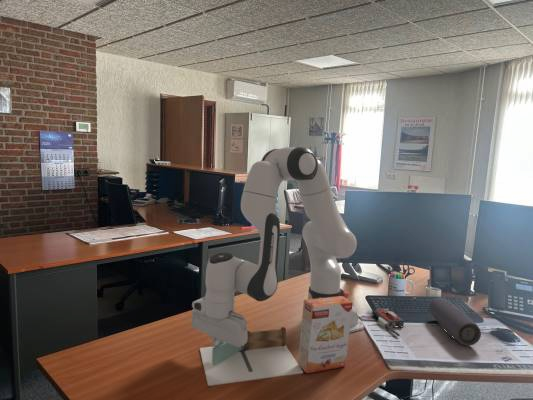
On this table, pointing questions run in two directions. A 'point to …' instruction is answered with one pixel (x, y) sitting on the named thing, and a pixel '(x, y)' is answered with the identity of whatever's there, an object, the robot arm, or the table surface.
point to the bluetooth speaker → (455, 321)
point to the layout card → (249, 365)
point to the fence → (265, 339)
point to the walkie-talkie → (388, 319)
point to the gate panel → (223, 352)
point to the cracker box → (324, 333)
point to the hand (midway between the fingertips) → (217, 350)
